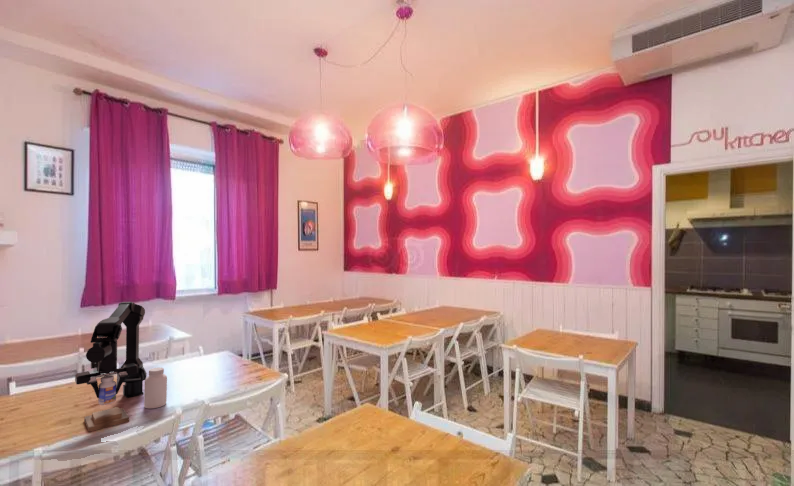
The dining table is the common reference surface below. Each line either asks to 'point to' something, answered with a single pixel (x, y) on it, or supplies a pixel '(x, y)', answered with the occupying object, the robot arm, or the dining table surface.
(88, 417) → the walnut stand
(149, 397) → the pill bottle
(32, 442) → the dining table surface
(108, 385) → the pill bottle
